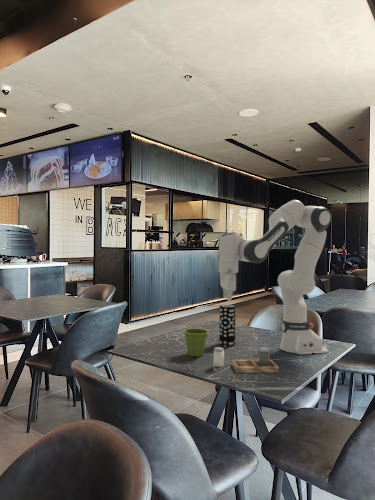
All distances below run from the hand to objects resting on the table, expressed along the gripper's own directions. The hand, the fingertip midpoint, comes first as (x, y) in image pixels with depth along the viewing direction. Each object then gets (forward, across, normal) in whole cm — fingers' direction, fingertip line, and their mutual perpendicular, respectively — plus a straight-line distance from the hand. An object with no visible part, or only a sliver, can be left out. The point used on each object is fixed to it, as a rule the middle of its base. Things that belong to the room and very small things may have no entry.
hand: (227, 299), depth 170 cm
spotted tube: (+27, +25, -5) cm, 37 cm away
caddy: (+27, -16, -9) cm, 33 cm away
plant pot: (+28, +7, +13) cm, 31 cm away
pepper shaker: (+26, -16, -13) cm, 33 cm away
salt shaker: (+27, -11, +5) cm, 30 cm away
